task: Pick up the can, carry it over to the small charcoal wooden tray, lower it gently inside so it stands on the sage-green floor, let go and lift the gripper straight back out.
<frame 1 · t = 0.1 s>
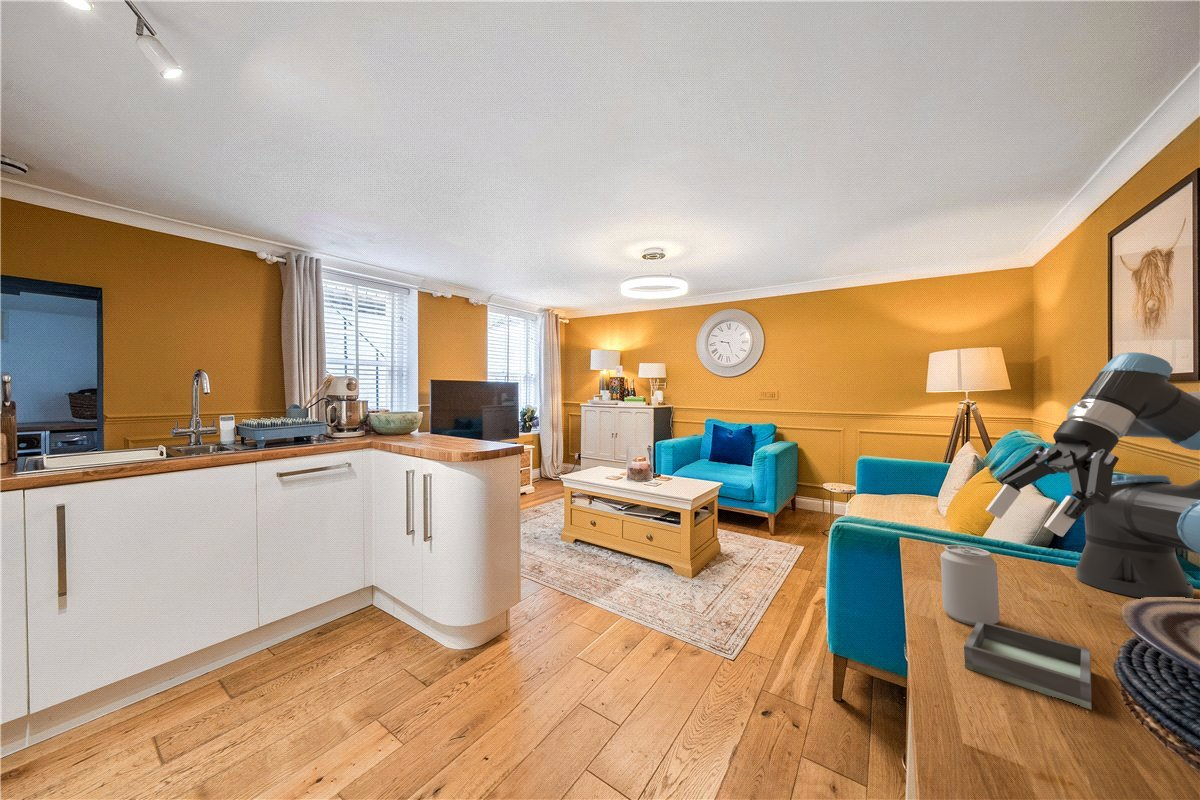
hand: (1020, 522, 80), 15 cm above the table, tool tilted 35°, fingers open, 13 cm apart
can: (970, 619, 74), on the table
tray: (1027, 669, 59), on the table
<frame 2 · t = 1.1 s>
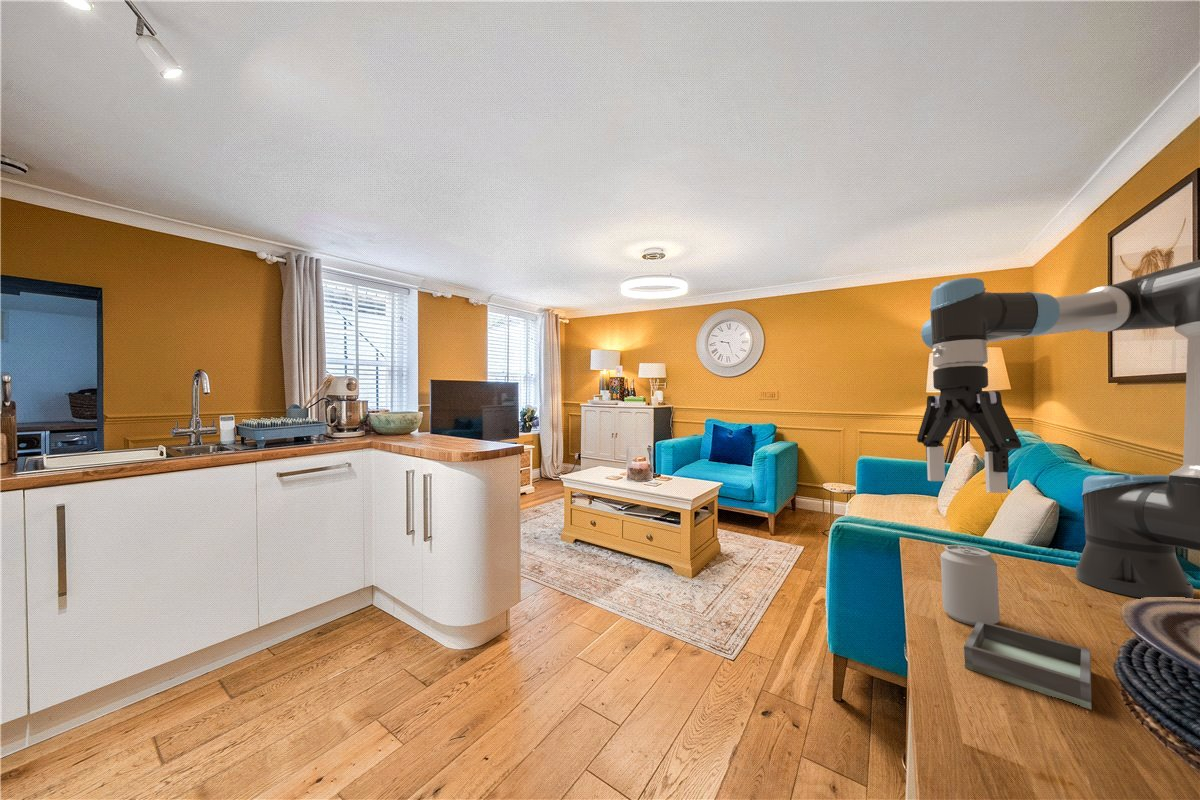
hand: (963, 486, 76), 23 cm above the table, tool pointing down, fingers open, 13 cm apart
nothing on the table moved.
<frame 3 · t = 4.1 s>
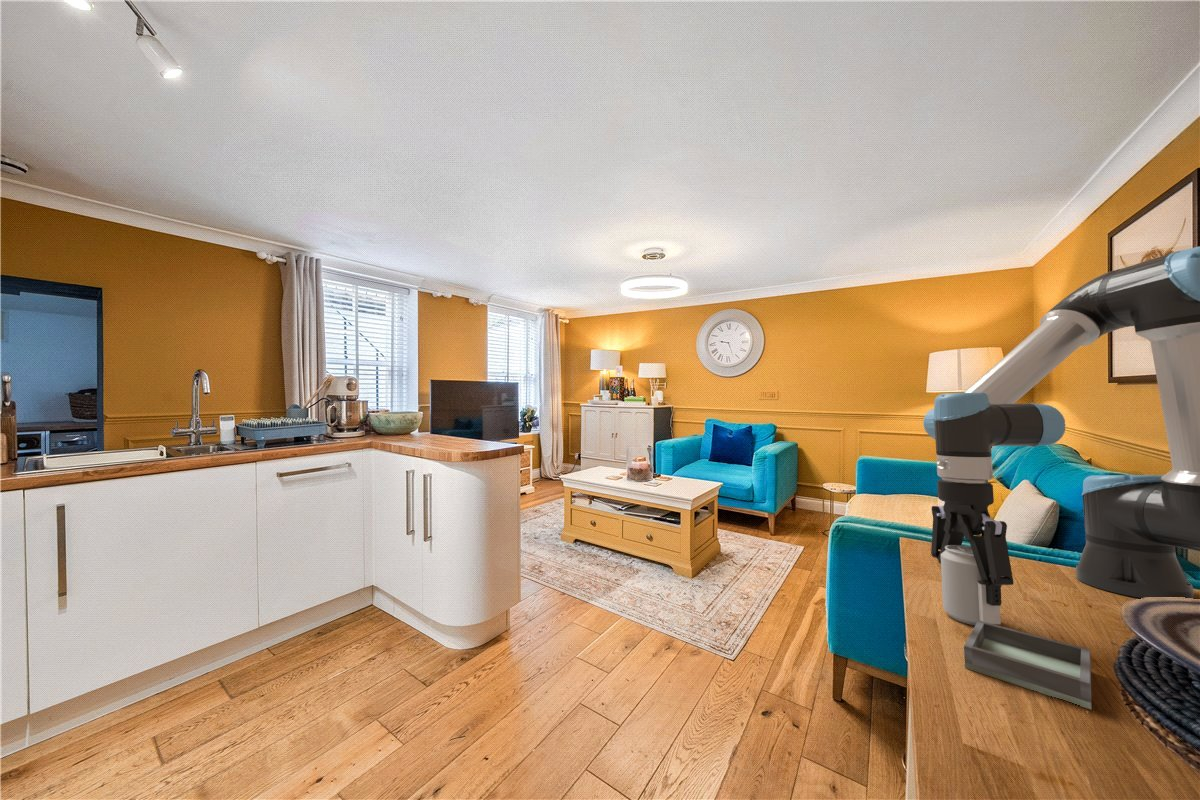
hand: (970, 611, 74), 1 cm above the table, tool pointing down, fingers closed on can, 7 cm apart
can: (970, 619, 74), on the table, touching gripper
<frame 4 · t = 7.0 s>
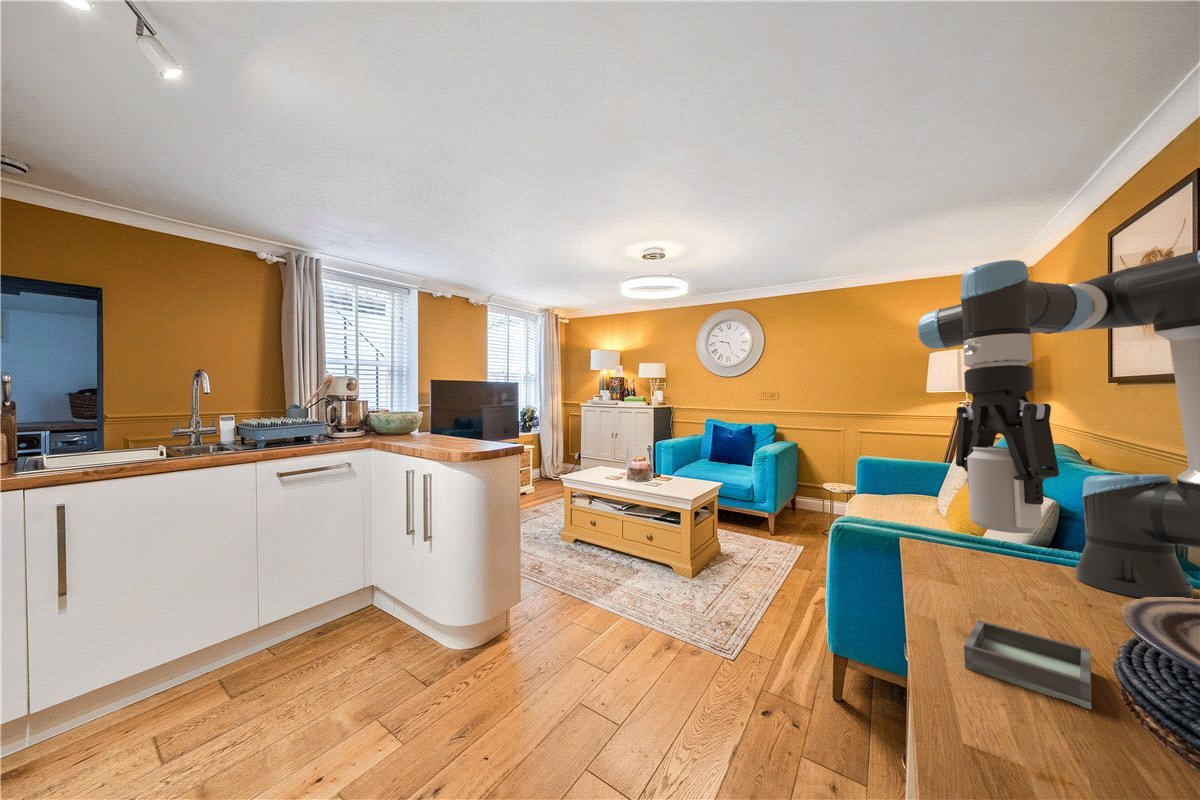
hand: (1003, 520, 63), 20 cm above the table, tool pointing down, fingers closed on can, 7 cm apart
can: (1003, 529, 63), point 18 cm above the table, touching gripper
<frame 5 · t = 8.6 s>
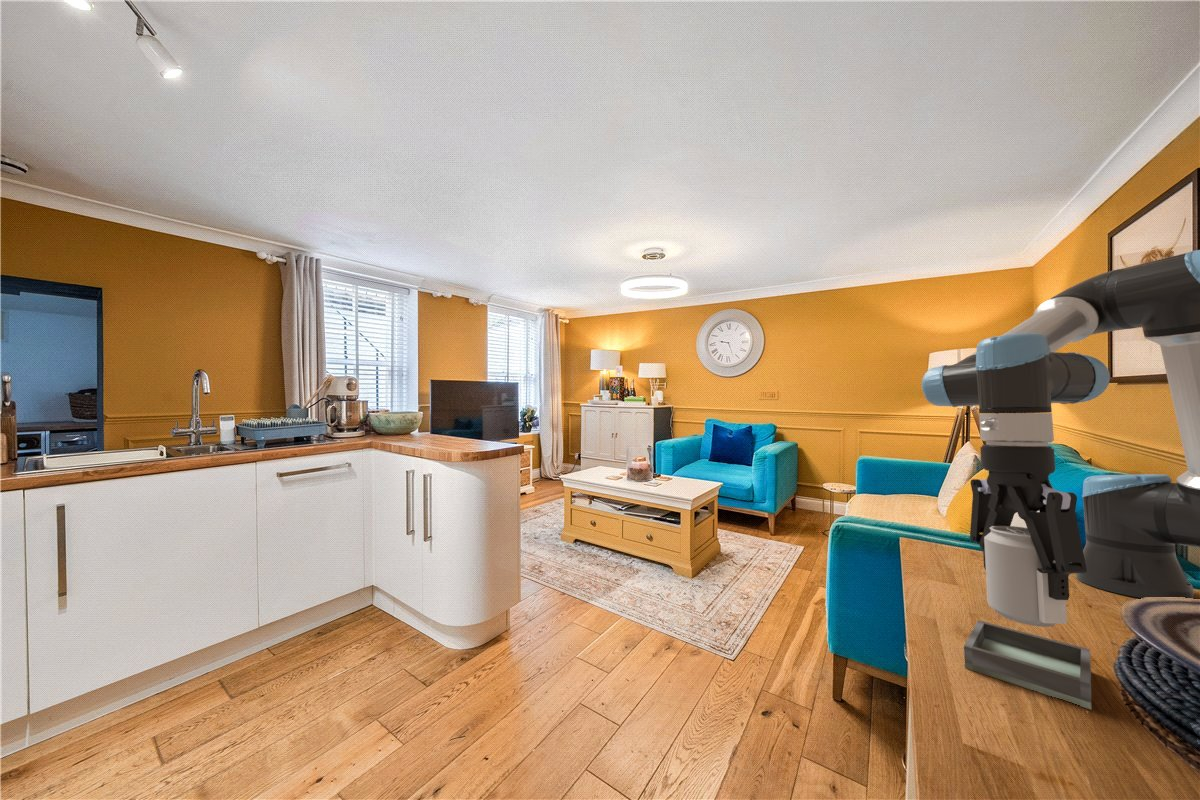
hand: (1024, 608, 60), 8 cm above the table, tool pointing down, fingers closed on can, 7 cm apart
can: (1024, 618, 59), point 7 cm above the table, touching gripper
when the fingers open (3 cm above the table, at t = 10.0 s): can drops 1 cm, resting on tray.
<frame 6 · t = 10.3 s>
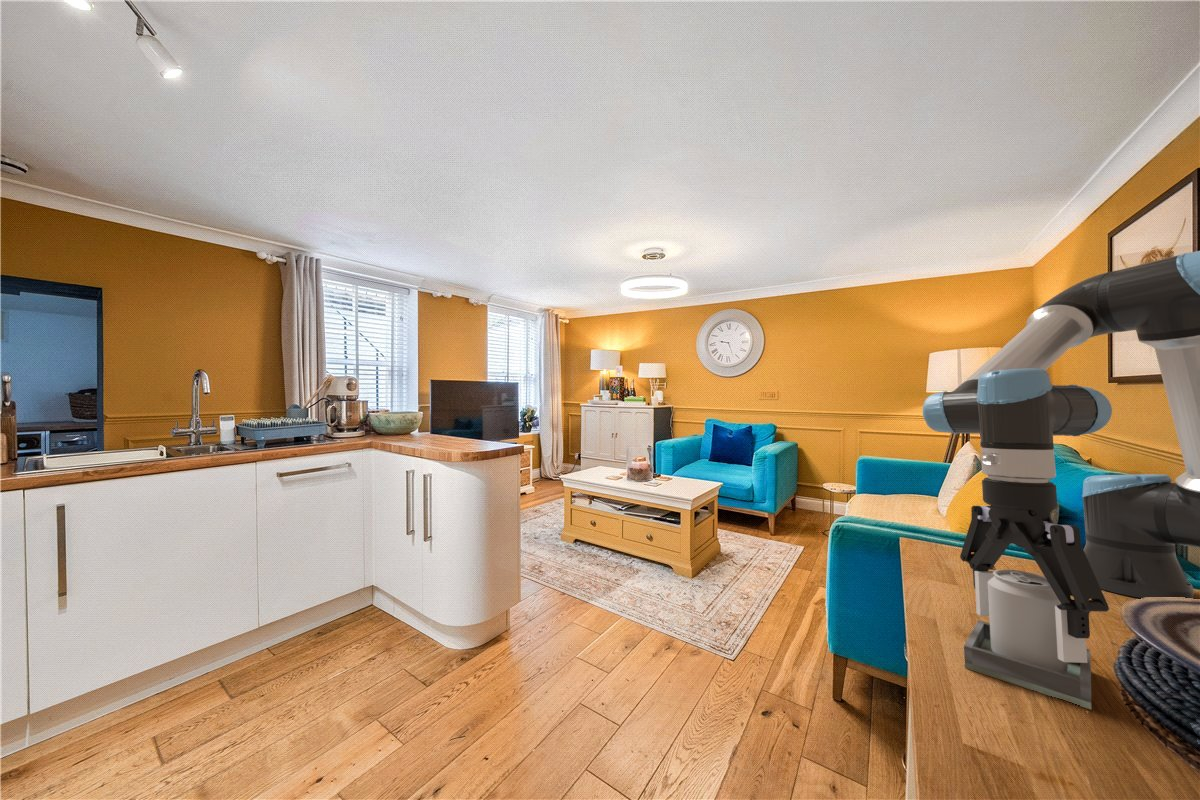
hand: (1025, 635, 59), 5 cm above the table, tool pointing down, fingers open, 12 cm apart
can: (1028, 665, 59), point 1 cm above the table, touching tray
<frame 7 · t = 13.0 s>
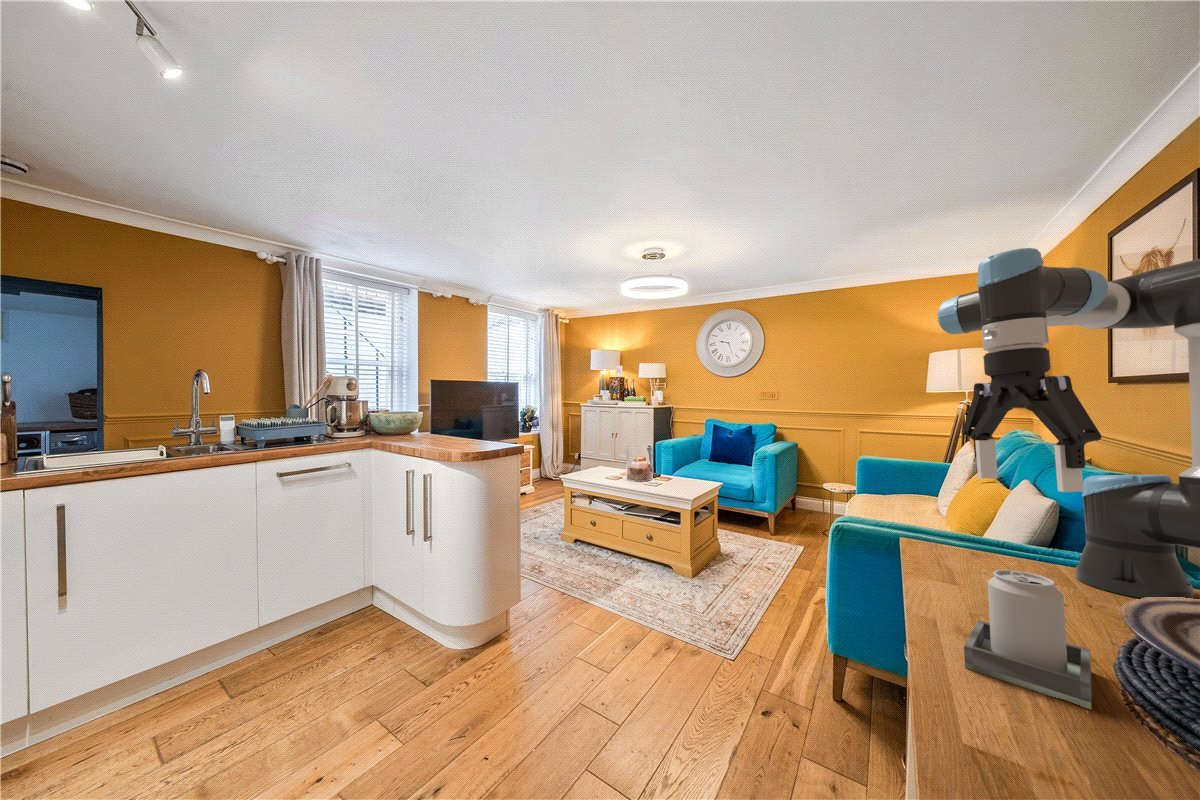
hand: (1025, 484, 67), 24 cm above the table, tool pointing down, fingers open, 13 cm apart
nothing on the table moved.
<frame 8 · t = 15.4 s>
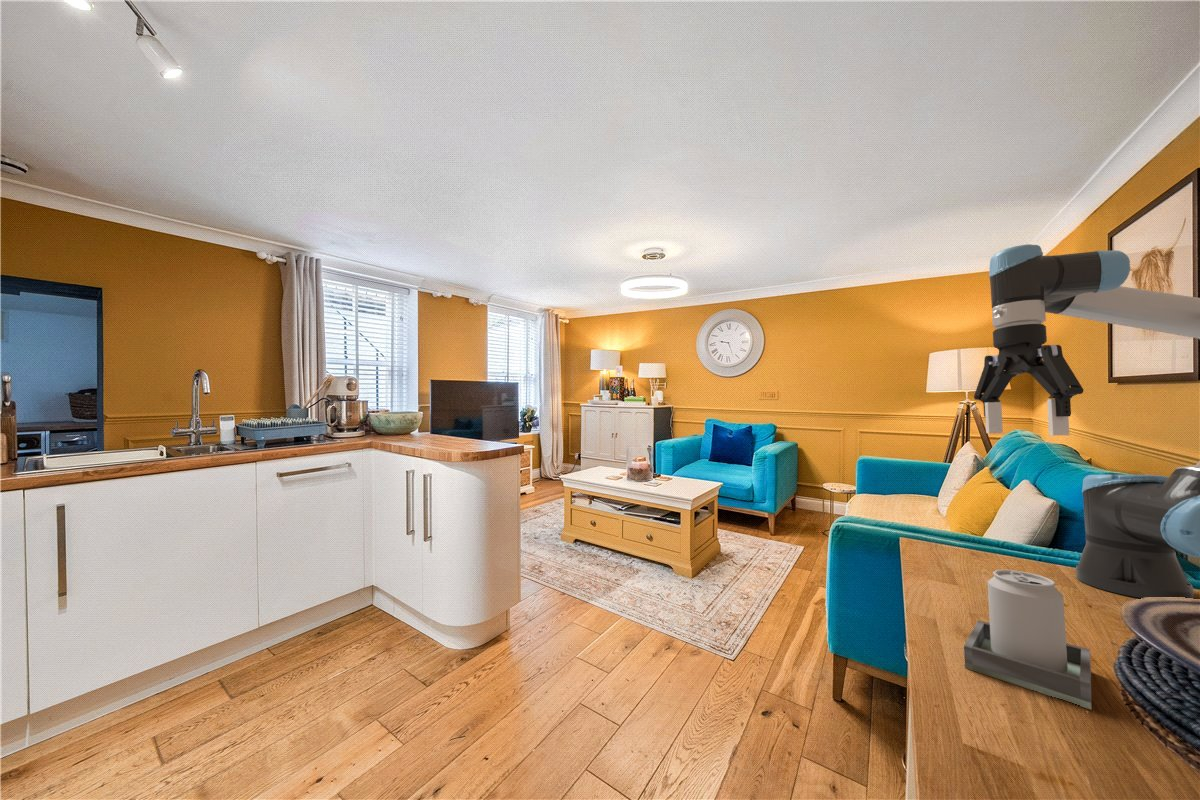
hand: (1024, 434, 83), 32 cm above the table, tool pointing down, fingers open, 13 cm apart
nothing on the table moved.
at the end: can 0.1 cm off-centre on the tray, point 0.6 cm above the tray's base; can tilted 0°; the gripper is holding nothing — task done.
